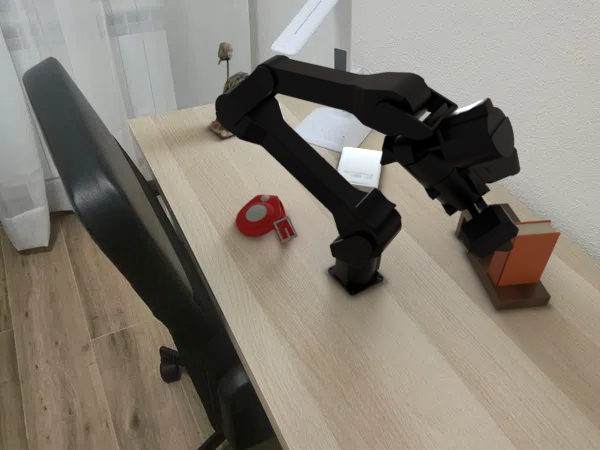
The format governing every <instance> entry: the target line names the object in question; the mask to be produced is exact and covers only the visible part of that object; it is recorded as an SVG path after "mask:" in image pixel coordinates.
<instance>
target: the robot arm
mask: <svg viewBox="0 0 600 450" xmlns="http://www.w3.org/2000/svg"><path fill="white" fill-rule="evenodd" d="M425 80H426V79H425V78H424V77H422V76H421V75H420V74H417V73H414V72H408V71H407V72H405V71H384V72H376V73H371V74H370V73H369V74H366V73H365V74H364V73H363V74H361V73H355V72H352V71H351V72H350V71H347V70H342V69H337V68H332V67H329V66H326V65H325V66H324V65H319V64H315V63H311V62H306V61H302V60H298V59H292V58H290V57H289V56H287V55H285V54H276V55H273V56H271V57H270V58H268V59H266V60H264V61H262V62H261V63H259V64H257V65H256V67H255V68H254V70H252V72H251V73H250V74H249V76H248V77H247V78H246V79H245V80H244V81H243V82H241V83H240V84H238V85H237V86H235V87H233V88H231V89H230V90H228V91H226V92H225V93H223V92H222V93H221V94H220V95H218V96H217V97H216V99H215V102H214V109H215V116H216V117H215V119H216V118H217V120H218V121H219V123H220V124H221V125H222V126H223V127H224V128H225V129H227V130H228V131H229V132H231V133H232V134H233V135H232V136H235V137H236V138H237V139H238V140H240V141H244V142H246V143H250V144H253V145H257V146H259V147H261V148H263V150H265V151H266V152H267V153H268V154H269V155H270V156H271V157H272V158H273V159H274V160H275V161H276V162H277V163H278V164H279V165H280V166H282V167H283V169H285V170H286V171H287V172H288V174H290V175H291V176H292V177H293V178H294V179H295V180H296V181H298V183H299V184H300V185H302V187H303V188H305V189H306V190H307V192H308V193H310V194H311V195H312V196H313V197H314V198H315V199H316V200H317V201H318V202H319V203H320V204H321V205H323V207H324V208H325V209H326V210H327V211H328V212H330V214H331V215H332V218H333V220H334V224H335V227H336V230H337V233H338V235H337V237H336V238H335V239H334V240H333V241H331V243H330V244H329V249H330V253H331V256H332V257H333V258H334V259H335V263H334V265H331V266H330V267H328V268H327V272H328V274H329V275H330V276H331V277H332V278H333V280H335V281H336V282H337V283H338V284H339V286H340V287H342V288H343V289H344V291H346V293H348V294H349V295H350V296H352V297H354V296H357V295H358V294H361V293H362V292H364V291H366V290H368V289H370V288H372V287H375V286H376V285H378V284H380V283H382V282H383V281H384V279H385V277H384V276H383V275H382V274H381V273H380V272H379V270H380V265H381V261H382V255H383V253H384V252H385V251H386V250H387V248H388V247H389V245H390V244H391V243H392V241H393V240H395V238H396V237H397V235H398V234H399V233H400V231H402V227H403V223H402V215H401V213H400V212H399V210H398V209H396V207H397V204H396V203H394V202H392V201H391V200H389V199H388V197H386V196H385V194H383V192H382V191H381V189H379V188H378V189H377V188H373V189H372V190H371V191H370V192H369V193H368V192H365V191H361V190H358V189H356V188H355V187H354V186H352V185H351V184H350V183H349V182H348V181H347V180H346V179H345V178H344V177H343V176H342V175H341V174H340V173H339V172H338V171H337V170H338V169H336V168H335V167H334V166H333V165H332V164H331V163H329V161H327V160H326V159H325V157H323V156H322V154H320V153H319V152H318V151H317V150H316V149H315V148H314V147H313V146H312V145H311V144H310V143H308V142H307V141H306V140H305V139H304V138H303V137H302V136H301V135H300V134H299V133H298V132H297V131H296V130H295V129H294V128H292V127H291V125H289V124H288V122H287V121H286V120H285V117H284V114H283V111H282V107H281V105H280V101H279V100H278V99H277V98H276V96H277V95H281V96H286V97H290V98H293V99H297V100H301V101H306V102H309V103H312V104H316V105H321V106H324V107H328V108H332V109H335V110H339V111H343V112H346V113H349V114H351V115H353V116H354V117H355V118H356V119H357V121H359V123H360V124H362V125H363V126H364V127H367V128H369V129H371V130H373V131H374V132H375V131H376V132H378V133H380V134H381V135H384V137H383V141H382V145H381V152H382V156H381V160H380V164H381V166H387V165H390V164H394V163H397V164H399V165H400V166H401V167H402V168H403V169H404V170H405V171H406V172H407V173H408V174H409V175H410V176H411V177H413V178H414V180H416V181H417V182H418V183H419V184H420V185H421V186H422V187H423V189H424V190H425V192H426V194H427V196H428V198H430V199H431V200H432V201H435V199H436V200H437V201H438V202H439V203H440V204H441V206H442V208H443V210H444V212H445V214H447V216H449V217H452V216H453V215H455V214H456V213H457V212H461V211H464V210H466V209H468V211H469V213H470V214H471V216H472V219H471V220H469V221H468V222H466V223H465V224H464V225H462V226H461V228H460V231H459V236H460V238H459V239H461V241H462V243H463V245H464V246H465V249H466V250H467V252H469V253H470V254H471V255H472V256H473V257H475V258H476V259H483V258H484V257H486V256H487V255H489V254H490V253H492V252H493V251H502V252H508V251H510V250H511V249H513V248H514V246H513V244H512V241H511V239H513V238H514V237H516V236H517V235H518V232H519V229H518V227H517V226H516V224H515V223H514V221H513V220H512V218H511V217H510V216H509V214H508V213H507V212H506V211H505V209H504V208H503V207H502V206H501V205H490V206H488V205H489V204H488V203H487V202H486V200H485V198H484V196H485V195H486V194H488V193H489V192H490V191H491V189H490V187H489V186H488V185H490V184H494V183H497V182H499V181H501V180H503V179H507V178H508V177H514V176H516V175H518V174H519V173H521V165H520V159H519V153H518V149H517V148H516V147H515V133H514V128H513V126H512V122H511V120H510V118H509V116H506V114H505V113H504V111H503V110H502V109H501V108H499V107H498V106H494V103H493V101H492V99H491V98H490V97H486V98H483V99H479V100H478V101H476V102H475V103H472V104H470V105H467V106H464V107H461V108H459V105H458V104H457V103H455V102H454V101H453V100H451V99H450V98H448V97H446V96H444V95H443V94H442V93H440V92H438V91H436V89H433V88H432V87H430V86H428V84H427V82H426V81H425ZM426 113H429V114H428V115H427V116H426V117H425V118H424V119H423V120H420V119H421V118H422V117H423V116H424V115H425V114H426ZM479 209H480V210H481V211H482V212H480V210H479Z"/></svg>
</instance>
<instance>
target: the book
mask: <svg viewBox="0 0 600 450" xmlns="http://www.w3.org/2000/svg"><path fill="white" fill-rule="evenodd" d="M551 223H552V220H551V219H539V220H532V221H531V220H529V221H521V222H515V224H516V226H517V227H518V229H519V232H518V235H517V236H516V237H514V238H513V239H511V241H512V244H513V246H514V248H513V249H511V250H510V251H508V252H502V251H495V253H494V256H493V258H492V261H491V264H490V267H489V269H488V274H489V276H490V277H491V279H492V281H493V283H494V285H495V286H504V285H514V284H525V283H536V282H539V280H540V281H541V278H542V275H543V273H544V271H545V269H546V267H547V265H548V262H549V260H550V258H551V256H552V253H553V251H554V249H555V247H556V245H557V242H558V240H559V238H560V236H561V235H562V234H561V232H560V231H557V230H556V229H555V228H554V227H553V225H552V224H551Z"/></svg>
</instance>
